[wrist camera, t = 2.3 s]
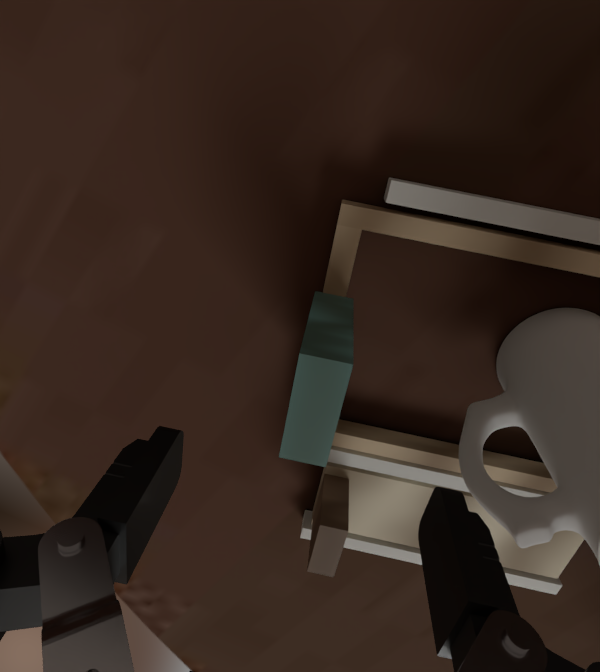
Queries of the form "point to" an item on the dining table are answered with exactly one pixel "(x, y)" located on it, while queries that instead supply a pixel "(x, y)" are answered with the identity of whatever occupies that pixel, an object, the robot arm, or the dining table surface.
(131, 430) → the dining table surface
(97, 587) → the robot arm
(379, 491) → the plain strip
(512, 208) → the lane rails
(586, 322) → the mug
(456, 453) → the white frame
